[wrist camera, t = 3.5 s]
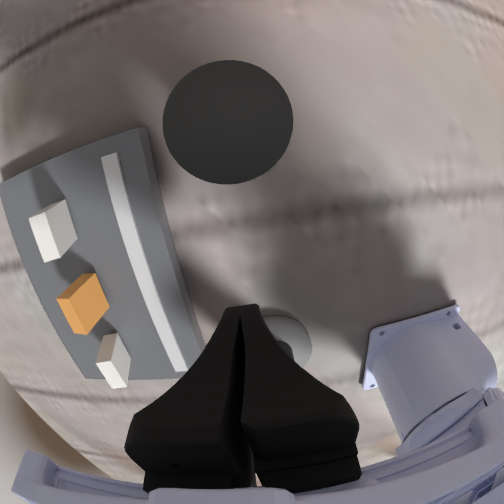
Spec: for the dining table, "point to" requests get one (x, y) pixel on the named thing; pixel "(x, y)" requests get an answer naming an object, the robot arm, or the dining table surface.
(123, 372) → the block
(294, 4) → the dining table surface
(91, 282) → the block
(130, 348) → the breaker panel
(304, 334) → the rubber post
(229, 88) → the rubber post
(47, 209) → the block
